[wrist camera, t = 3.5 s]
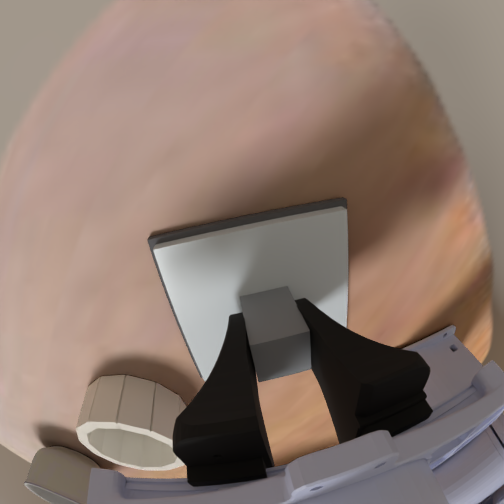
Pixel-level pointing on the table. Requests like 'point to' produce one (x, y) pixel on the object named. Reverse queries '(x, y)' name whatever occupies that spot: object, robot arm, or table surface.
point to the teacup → (60, 475)
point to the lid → (259, 286)
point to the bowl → (130, 422)
